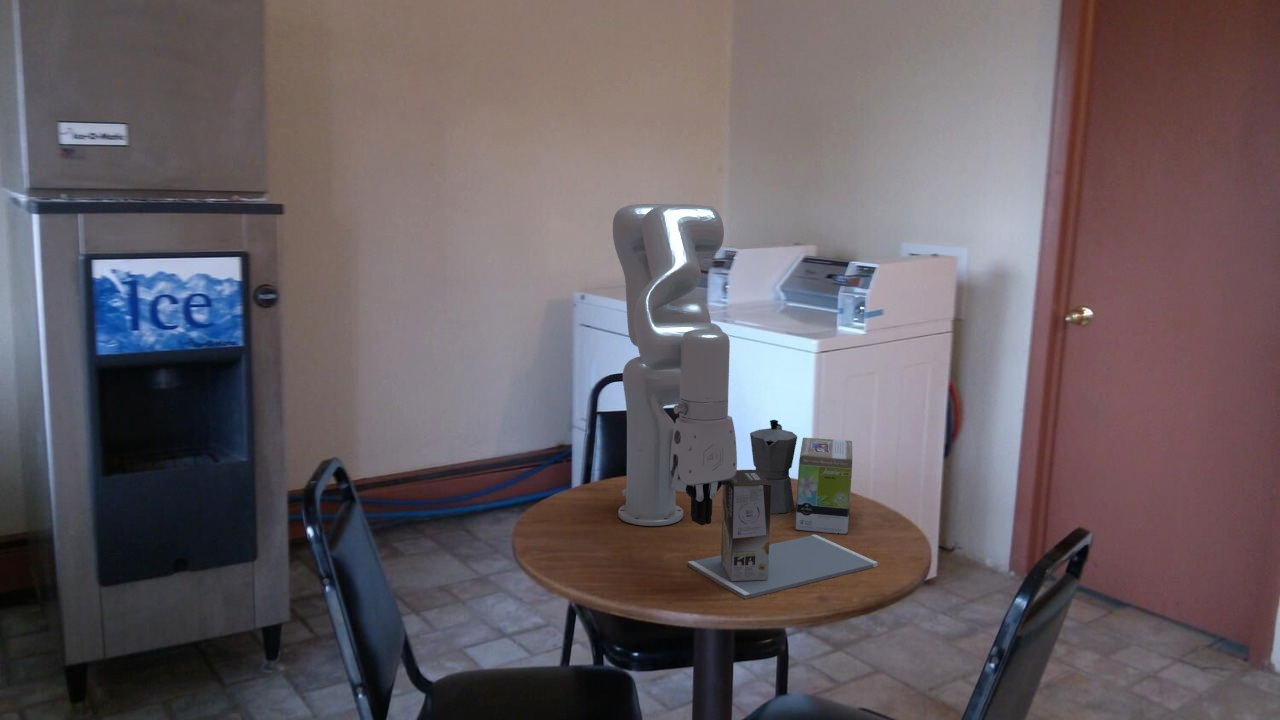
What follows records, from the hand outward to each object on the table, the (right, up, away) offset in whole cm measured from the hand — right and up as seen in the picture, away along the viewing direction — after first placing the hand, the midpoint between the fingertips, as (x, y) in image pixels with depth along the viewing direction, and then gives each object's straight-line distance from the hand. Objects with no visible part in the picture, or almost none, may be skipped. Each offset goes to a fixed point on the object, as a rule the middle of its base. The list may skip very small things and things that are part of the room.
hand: (701, 522), depth 157 cm
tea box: (+26, -6, +34) cm, 43 cm away
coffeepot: (+17, -4, +43) cm, 46 cm away
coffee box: (+7, -9, +6) cm, 14 cm away
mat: (+14, -9, +10) cm, 20 cm away
